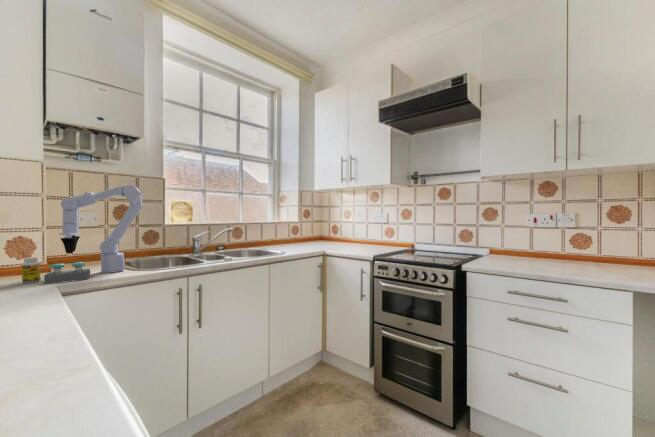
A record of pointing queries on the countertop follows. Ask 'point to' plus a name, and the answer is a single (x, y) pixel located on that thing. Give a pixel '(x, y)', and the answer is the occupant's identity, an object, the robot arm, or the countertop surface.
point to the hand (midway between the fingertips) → (70, 252)
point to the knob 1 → (57, 267)
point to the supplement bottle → (30, 270)
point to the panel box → (66, 276)
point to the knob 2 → (78, 266)
